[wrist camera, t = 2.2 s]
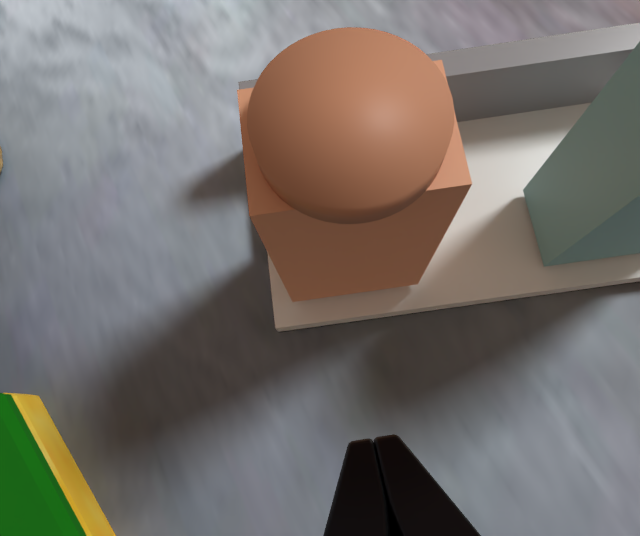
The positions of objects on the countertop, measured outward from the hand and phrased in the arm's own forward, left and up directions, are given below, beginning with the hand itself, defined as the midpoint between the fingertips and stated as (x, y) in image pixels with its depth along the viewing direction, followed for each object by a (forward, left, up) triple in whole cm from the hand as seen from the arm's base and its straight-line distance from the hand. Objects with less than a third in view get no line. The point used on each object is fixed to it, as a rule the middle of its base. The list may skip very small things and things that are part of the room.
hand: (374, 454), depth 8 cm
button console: (+4, -9, -9) cm, 13 cm away
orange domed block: (+5, -4, -8) cm, 10 cm away
